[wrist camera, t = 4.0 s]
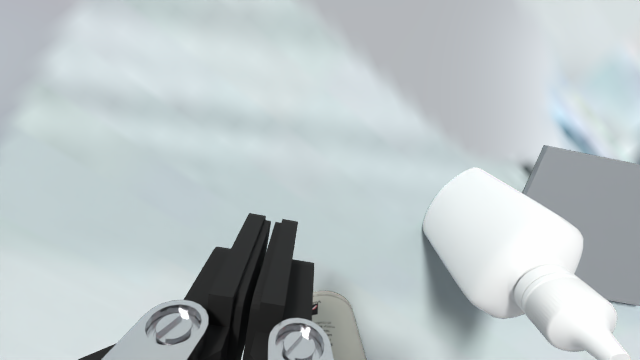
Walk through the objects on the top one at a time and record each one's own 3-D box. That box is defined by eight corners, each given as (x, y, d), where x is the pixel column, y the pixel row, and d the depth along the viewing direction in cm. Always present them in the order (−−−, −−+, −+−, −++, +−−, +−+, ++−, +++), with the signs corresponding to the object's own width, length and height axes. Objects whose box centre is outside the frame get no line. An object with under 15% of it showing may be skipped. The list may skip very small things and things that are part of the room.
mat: (716, 180, 20) (724, 182, 19) (635, 302, 23) (641, 306, 23) (543, 145, 19) (548, 146, 19) (485, 275, 22) (488, 278, 22)
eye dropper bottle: (507, 211, 21) (728, 376, 9) (430, 246, 22) (547, 433, 10) (485, 157, 20) (709, 271, 8) (405, 197, 20) (506, 347, 9)
